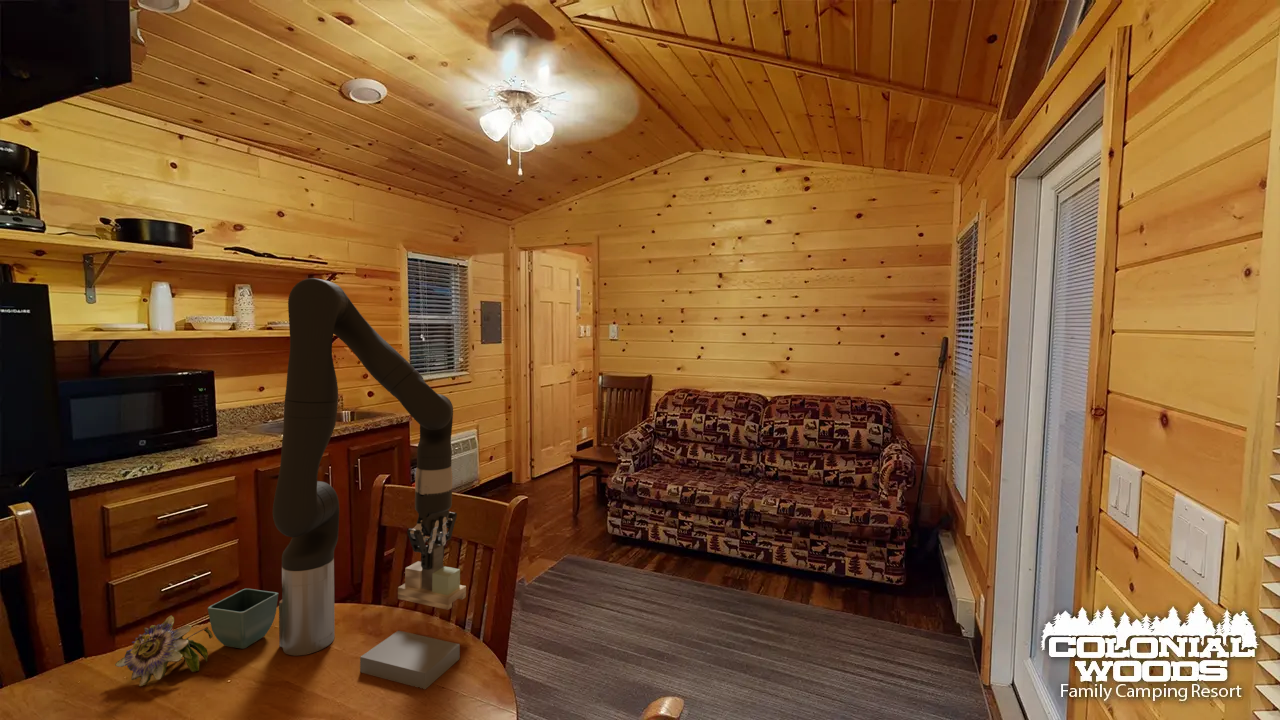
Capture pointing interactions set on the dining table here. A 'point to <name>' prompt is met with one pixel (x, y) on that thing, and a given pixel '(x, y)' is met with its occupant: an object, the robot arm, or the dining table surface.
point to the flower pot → (243, 617)
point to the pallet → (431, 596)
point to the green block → (445, 580)
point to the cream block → (414, 576)
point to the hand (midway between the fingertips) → (432, 565)
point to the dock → (410, 659)
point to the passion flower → (162, 651)
